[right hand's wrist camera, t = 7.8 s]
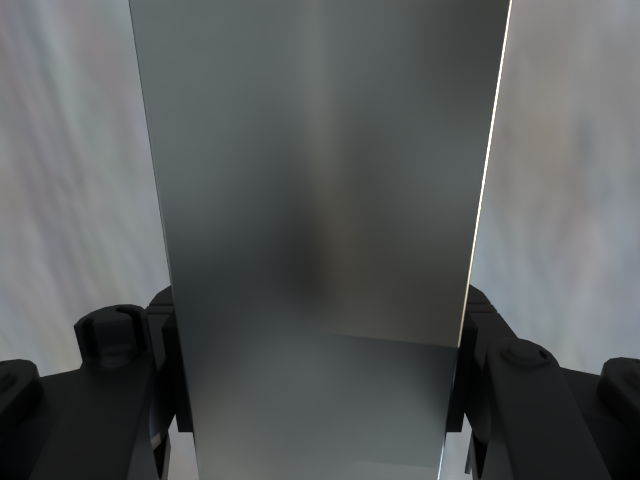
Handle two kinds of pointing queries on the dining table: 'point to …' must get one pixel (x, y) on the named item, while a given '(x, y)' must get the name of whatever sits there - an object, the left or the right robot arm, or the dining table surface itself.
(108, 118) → the dining table surface
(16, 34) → the dining table surface
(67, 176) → the dining table surface
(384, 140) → the bar
